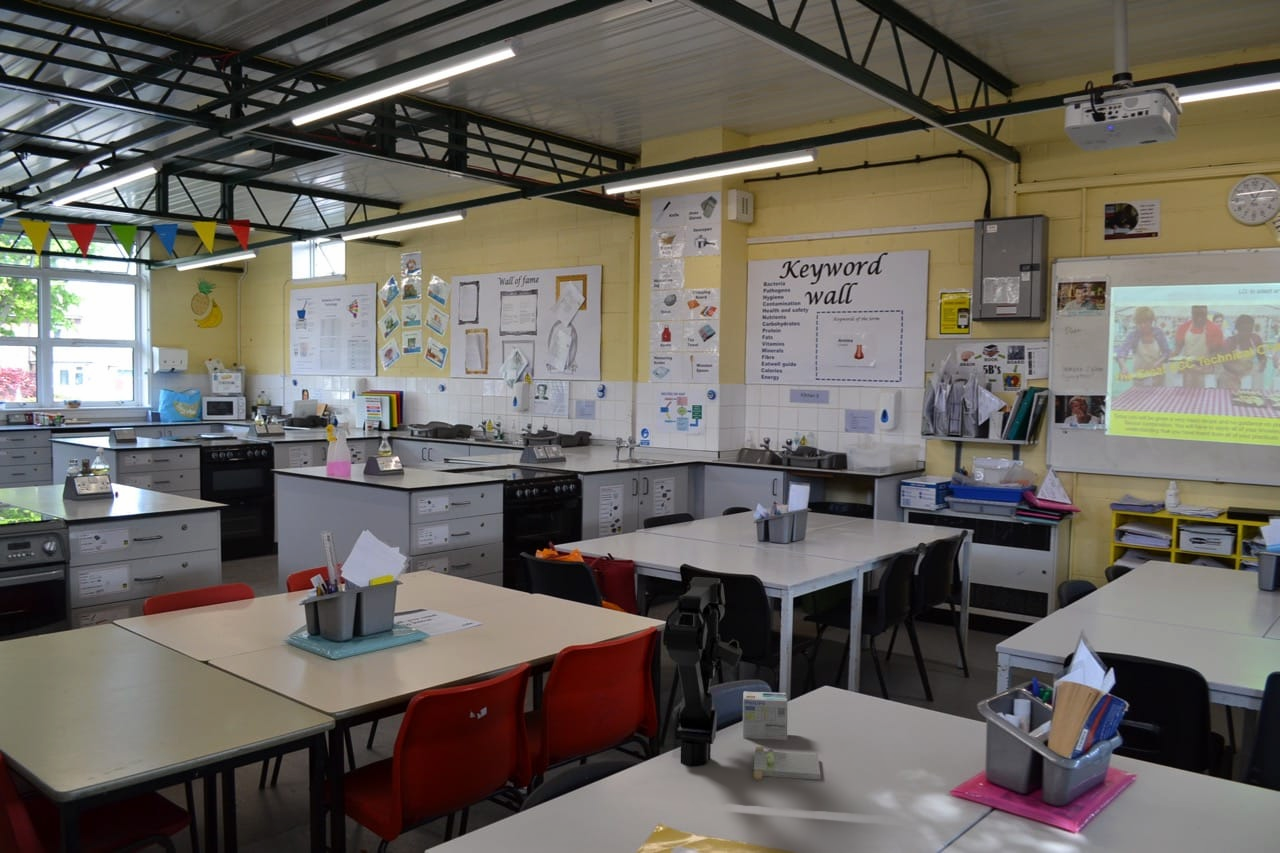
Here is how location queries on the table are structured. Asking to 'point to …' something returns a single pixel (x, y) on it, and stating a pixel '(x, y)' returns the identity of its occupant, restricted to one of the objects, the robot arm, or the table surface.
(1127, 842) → the table surface
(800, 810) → the table surface
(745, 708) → the light bulb box
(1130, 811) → the table surface
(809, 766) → the level plate
